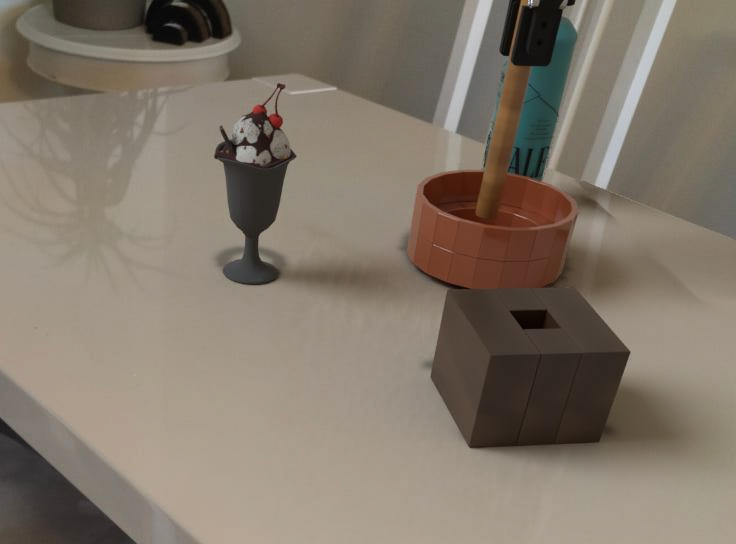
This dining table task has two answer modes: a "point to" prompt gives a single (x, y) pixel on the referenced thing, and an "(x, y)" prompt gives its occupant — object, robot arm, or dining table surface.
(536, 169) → the beverage bottle
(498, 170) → the stick
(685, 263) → the dining table surface
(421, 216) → the bowl
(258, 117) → the sundae
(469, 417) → the holder
